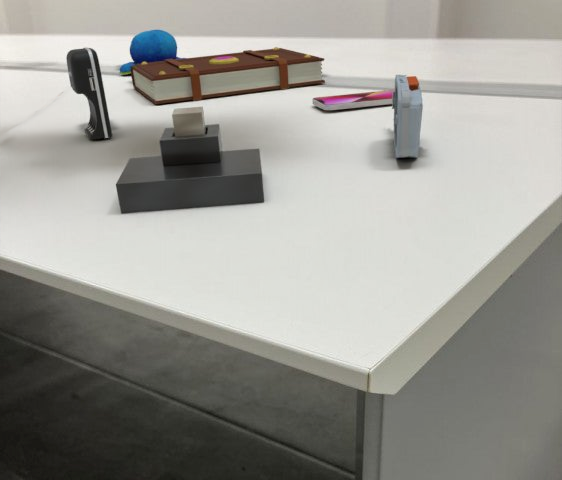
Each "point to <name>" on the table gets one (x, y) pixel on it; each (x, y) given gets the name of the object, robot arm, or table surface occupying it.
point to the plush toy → (151, 48)
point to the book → (225, 74)
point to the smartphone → (354, 100)
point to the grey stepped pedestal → (191, 175)
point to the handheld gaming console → (407, 116)
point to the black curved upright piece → (90, 89)
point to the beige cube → (188, 121)
